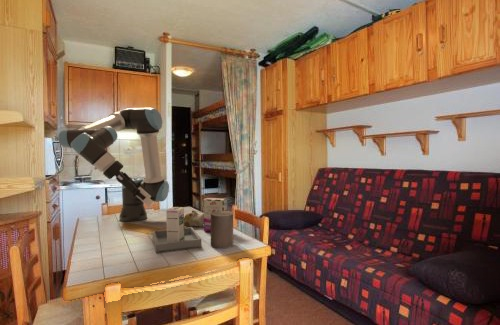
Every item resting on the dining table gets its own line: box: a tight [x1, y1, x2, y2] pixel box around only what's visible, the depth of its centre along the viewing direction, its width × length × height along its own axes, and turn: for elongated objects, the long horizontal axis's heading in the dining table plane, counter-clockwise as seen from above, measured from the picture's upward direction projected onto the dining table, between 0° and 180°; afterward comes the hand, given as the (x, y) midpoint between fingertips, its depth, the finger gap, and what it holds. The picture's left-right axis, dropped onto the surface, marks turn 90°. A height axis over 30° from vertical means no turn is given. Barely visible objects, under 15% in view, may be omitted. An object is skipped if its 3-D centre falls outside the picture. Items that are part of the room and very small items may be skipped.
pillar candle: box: [210, 210, 234, 249], centre depth 120 cm, size 10×10×15 cm
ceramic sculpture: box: [184, 210, 204, 228], centre depth 150 cm, size 11×9×15 cm
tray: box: [152, 226, 202, 254], centre depth 122 cm, size 20×18×4 cm
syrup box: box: [165, 206, 185, 242], centre depth 122 cm, size 6×6×14 cm
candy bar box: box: [203, 197, 228, 233], centre depth 140 cm, size 11×5×16 cm, turn 71°
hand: (149, 201), depth 117 cm, fingers open, 13 cm apart
